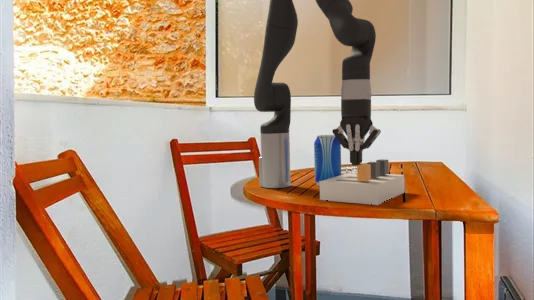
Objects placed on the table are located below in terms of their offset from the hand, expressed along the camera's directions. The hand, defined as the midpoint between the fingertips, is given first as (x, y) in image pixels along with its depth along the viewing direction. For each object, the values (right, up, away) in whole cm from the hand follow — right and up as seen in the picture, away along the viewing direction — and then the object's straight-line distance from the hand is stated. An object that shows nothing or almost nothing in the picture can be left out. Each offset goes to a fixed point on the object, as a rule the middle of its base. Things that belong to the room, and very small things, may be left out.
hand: (356, 165), depth 118 cm
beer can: (-3, -8, +28) cm, 29 cm away
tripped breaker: (+2, -4, -1) cm, 4 cm away
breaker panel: (+3, -9, +6) cm, 11 cm away
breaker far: (+9, -3, +9) cm, 14 cm away
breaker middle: (+5, -3, +4) cm, 8 cm away
